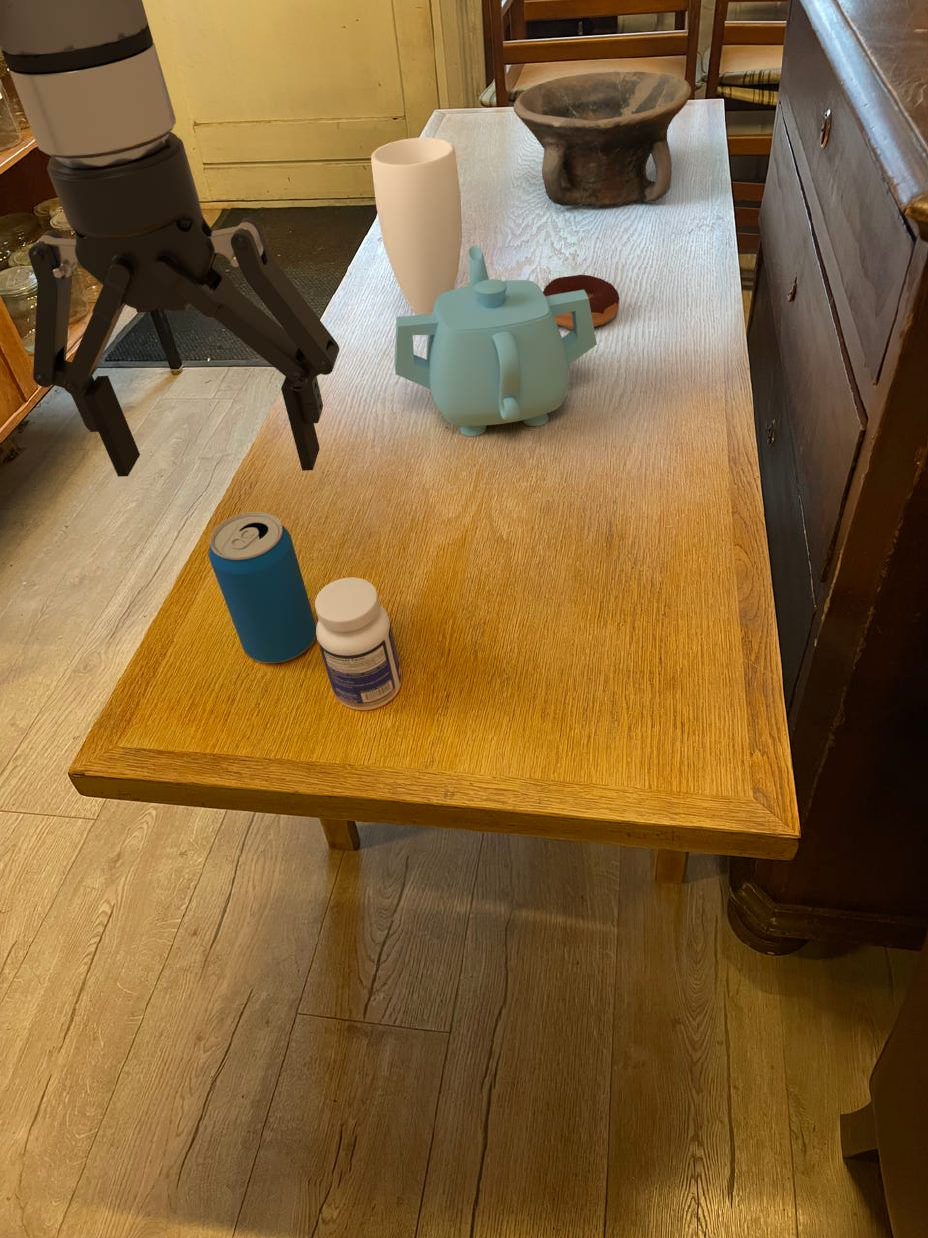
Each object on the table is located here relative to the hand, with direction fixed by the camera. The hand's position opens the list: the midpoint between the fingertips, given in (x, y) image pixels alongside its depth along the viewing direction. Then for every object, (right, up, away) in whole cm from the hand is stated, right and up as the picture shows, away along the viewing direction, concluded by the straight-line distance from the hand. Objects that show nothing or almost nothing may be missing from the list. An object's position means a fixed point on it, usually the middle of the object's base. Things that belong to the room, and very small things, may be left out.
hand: (219, 463), depth 64 cm
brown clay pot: (+40, +58, +80) cm, 106 cm away
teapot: (+21, +14, +38) cm, 46 cm away
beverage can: (+2, -13, +13) cm, 19 cm away
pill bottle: (+10, -17, +8) cm, 21 cm away
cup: (+14, +26, +52) cm, 59 cm away
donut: (+33, +28, +51) cm, 67 cm away
